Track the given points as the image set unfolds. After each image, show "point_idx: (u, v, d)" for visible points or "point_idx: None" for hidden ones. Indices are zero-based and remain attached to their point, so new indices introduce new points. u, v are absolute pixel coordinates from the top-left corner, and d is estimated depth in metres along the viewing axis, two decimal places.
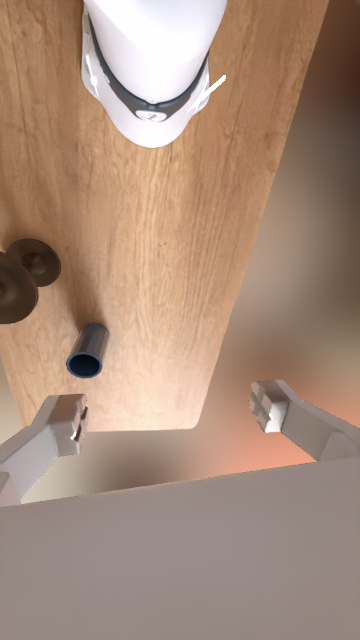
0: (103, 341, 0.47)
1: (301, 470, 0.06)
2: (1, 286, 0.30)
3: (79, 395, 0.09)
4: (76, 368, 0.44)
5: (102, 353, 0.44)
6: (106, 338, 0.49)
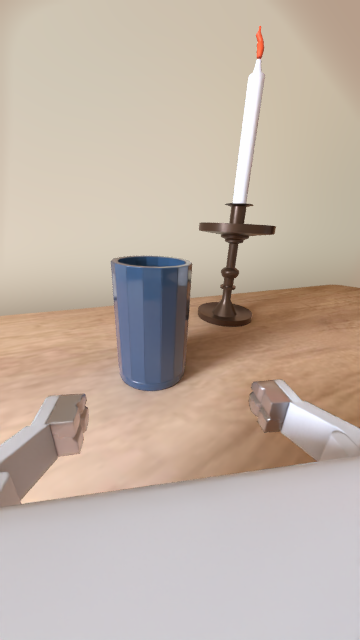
0: (183, 332, 0.19)
1: (301, 470, 0.06)
2: None
3: (79, 395, 0.09)
4: None
5: (180, 295, 0.17)
6: (176, 356, 0.19)
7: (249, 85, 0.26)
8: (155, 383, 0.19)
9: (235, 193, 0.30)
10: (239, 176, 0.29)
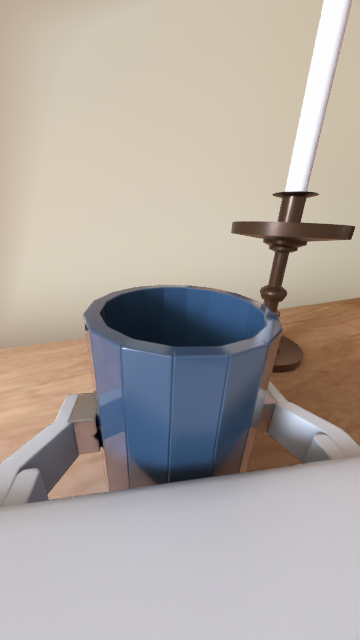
0: (248, 461, 0.09)
1: (301, 470, 0.06)
2: None
3: None
4: (118, 328, 0.09)
5: (258, 403, 0.07)
6: None
7: None
8: None
9: (291, 177, 0.20)
10: (301, 149, 0.19)
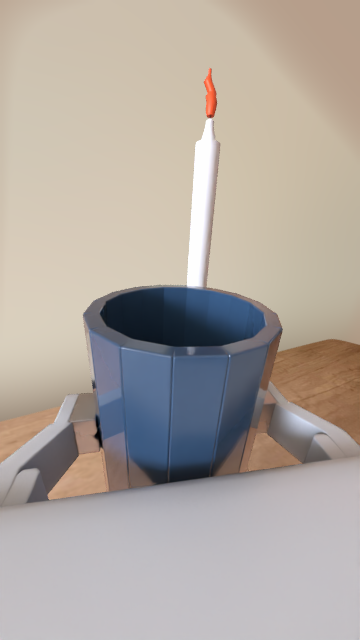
0: (248, 462, 0.09)
1: (301, 470, 0.06)
2: None
3: None
4: (118, 328, 0.09)
5: (258, 403, 0.07)
6: None
7: (196, 157, 0.17)
8: None
9: None
10: (191, 278, 0.20)
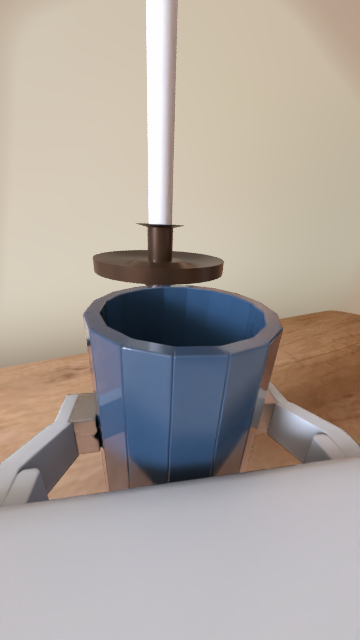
0: (248, 461, 0.09)
1: (301, 470, 0.06)
2: (170, 262, 0.18)
3: None
4: (118, 328, 0.09)
5: (259, 403, 0.07)
6: None
7: None
8: None
9: (149, 205, 0.17)
10: (151, 175, 0.16)
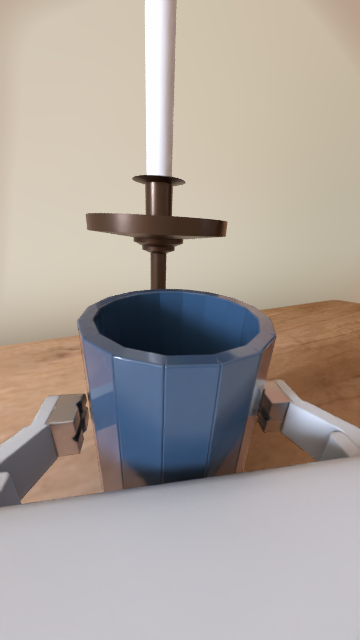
0: (243, 466, 0.09)
1: (301, 470, 0.06)
2: None
3: (79, 395, 0.09)
4: (113, 333, 0.09)
5: (252, 409, 0.07)
6: None
7: None
8: None
9: (147, 157, 0.16)
10: (149, 121, 0.15)
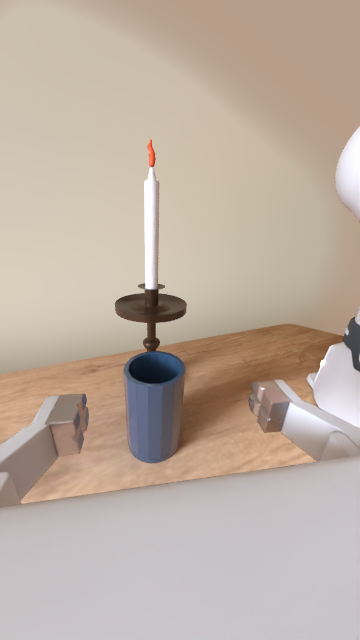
0: (178, 419, 0.25)
1: (301, 470, 0.06)
2: (157, 306, 0.33)
3: (79, 395, 0.09)
4: (132, 371, 0.25)
5: (176, 398, 0.23)
6: (173, 437, 0.25)
7: (145, 189, 0.27)
8: (156, 458, 0.25)
9: (145, 277, 0.32)
10: (146, 264, 0.31)
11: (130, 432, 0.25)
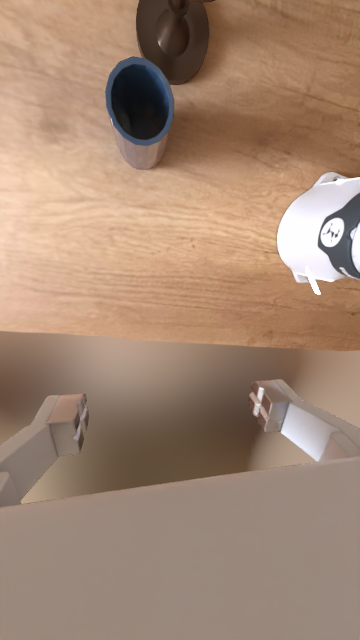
0: (155, 157, 0.28)
1: (301, 470, 0.06)
2: None
3: (79, 395, 0.09)
4: (121, 81, 0.22)
5: (151, 151, 0.25)
6: (148, 164, 0.30)
7: None
8: (134, 166, 0.32)
9: None
10: None
11: (115, 137, 0.28)
